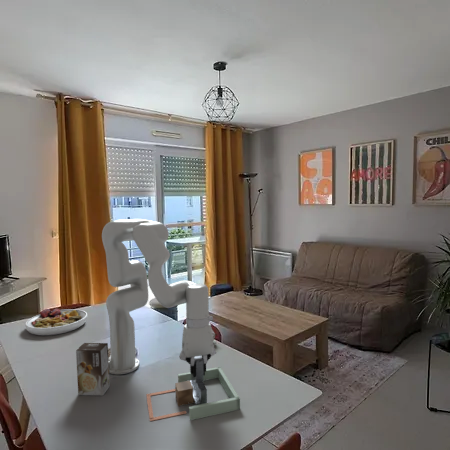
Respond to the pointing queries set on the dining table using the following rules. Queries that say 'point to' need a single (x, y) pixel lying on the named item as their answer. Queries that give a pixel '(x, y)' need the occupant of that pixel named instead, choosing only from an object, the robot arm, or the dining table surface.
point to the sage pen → (216, 406)
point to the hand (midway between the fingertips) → (198, 374)
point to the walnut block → (184, 393)
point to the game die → (213, 334)
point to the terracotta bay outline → (152, 410)
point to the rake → (198, 383)
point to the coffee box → (92, 368)
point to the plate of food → (56, 321)
